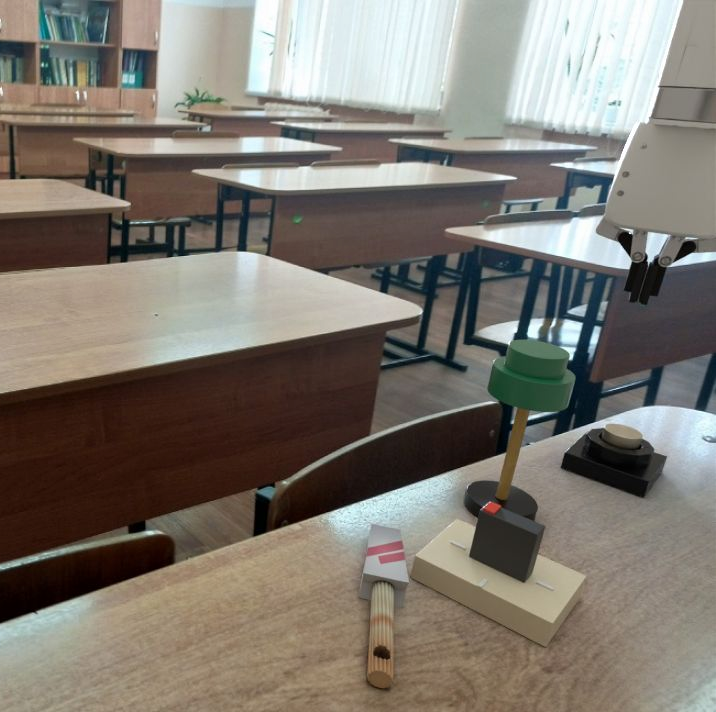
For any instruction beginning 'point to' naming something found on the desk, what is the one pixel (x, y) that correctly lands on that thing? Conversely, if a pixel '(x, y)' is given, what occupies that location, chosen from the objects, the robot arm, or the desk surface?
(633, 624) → the desk surface
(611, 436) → the button
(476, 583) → the dimmer
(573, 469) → the lamp switch
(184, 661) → the desk surface
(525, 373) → the desk lamp
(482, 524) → the dimmer knob
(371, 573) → the paintbrush
